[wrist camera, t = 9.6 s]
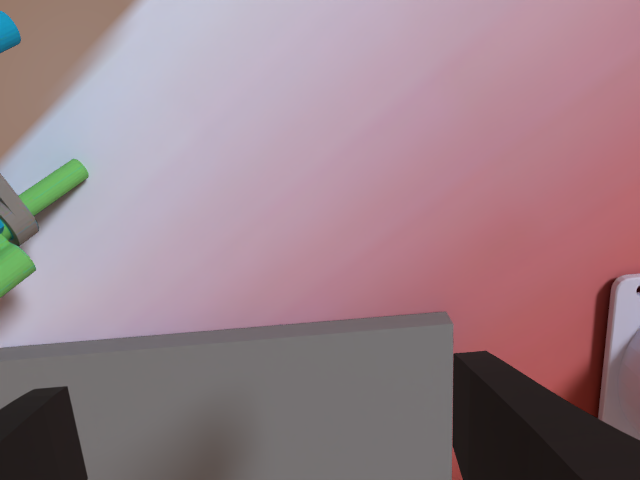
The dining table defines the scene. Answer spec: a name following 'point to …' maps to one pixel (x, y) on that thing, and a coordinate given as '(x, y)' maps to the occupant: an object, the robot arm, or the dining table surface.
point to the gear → (26, 198)
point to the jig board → (257, 400)
